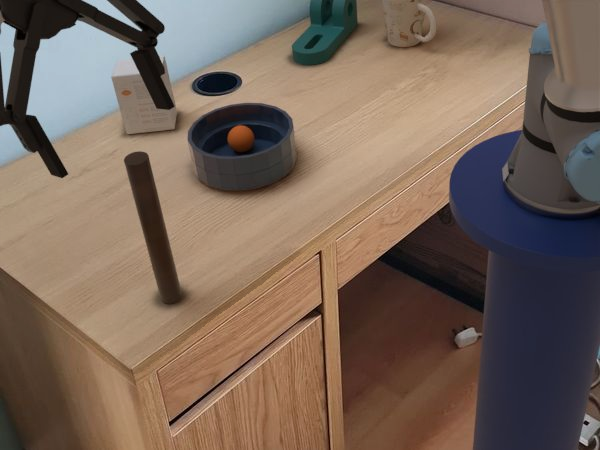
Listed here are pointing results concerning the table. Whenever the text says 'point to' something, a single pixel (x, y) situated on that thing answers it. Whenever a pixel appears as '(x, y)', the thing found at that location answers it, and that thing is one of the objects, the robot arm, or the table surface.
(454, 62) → the table surface
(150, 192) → the stick
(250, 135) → the ball
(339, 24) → the bracket
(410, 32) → the mug
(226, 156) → the bowl
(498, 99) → the table surface
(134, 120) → the small box
